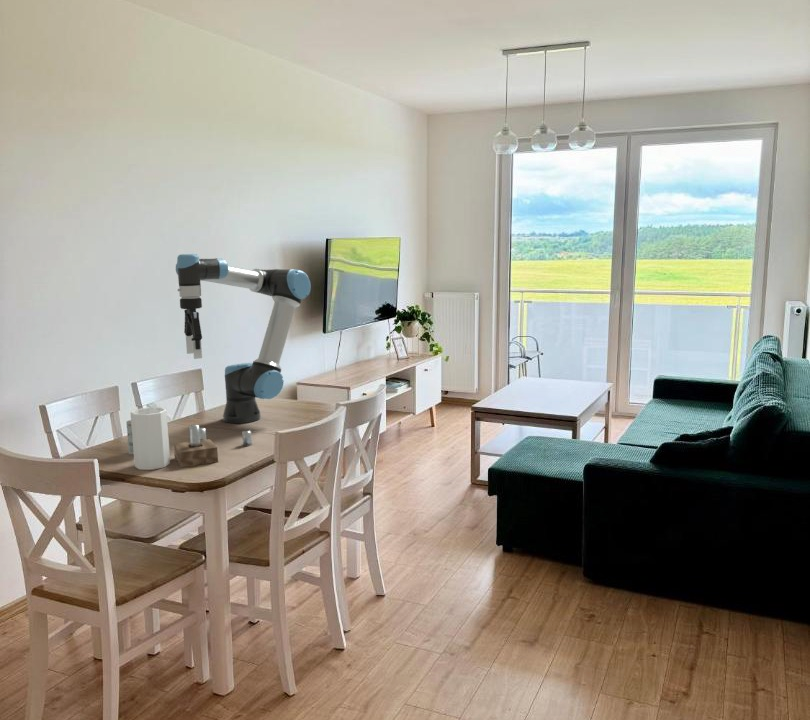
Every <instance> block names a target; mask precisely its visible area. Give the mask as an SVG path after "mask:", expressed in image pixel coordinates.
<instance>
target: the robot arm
mask: <svg viewBox="0 0 810 720" xmlns="http://www.w3.org/2000/svg"><path fill="white" fill-rule="evenodd" d="M176 261H177V262H176V264H175V272H176V275H177V278H178V281H177V282H178V288H177V292H179V297H180V299H179V307H180V309H181V310H184V335H185V343H186V344H185V345H186V354H187V355H188V354H190V355H191V354H193V359H194V360H197V359H202V358H203V353H202V351H203V350H202V339H203V336H202V327H201V321H200V313H199V311H197V309H201V308H202V307H203V303H202V301H203V300H202V297H201V296H202V286H201V281H202V282H209V283H213V284H220V285H227V286H231V287H238V288H243V289H249V290H250V292H253V293H257V294H262V295H265V296H268V297H271V298H272V300H273V302H274V303H273V307H272V310H271V313H270V316H269V320H268V323H267V327H266V331H265V334H264V338H263V340H262V344H261V348H260V351H259V354H258V357H257V358H256V359H255V360H253V362H243V363H235V364H230V365H227V366H225V369H224V381H225V397H226V398H225V401H226V403H225V406H224V410H223V413H222V421H223V422H225V423H229V424H244V423H245V424H246V423H247V424H248V423H251V422H257V421H259V420H260V419H261V411H260V409H259V408H260V407H259V406H258V403H257V401H256V398H258V399H260V400H271V399H274V398H276V397H277V396H278V395H280V394H281V392H282V389H283V387H284V379H283V378H284V376H283V374H282V373H281V372H282V367H281V365H280V362H281V360H282V355H283V351H284V348H285V344H286V340H287V338H288V335H289V331H290V328H291V324H292V320H293V317H294V314H295V311H296V308H298V307H300V306H301V303H302V301H303V300H304V299H306V298H307V297H308V296H309V295H310V293H311V290H312V289H311V287H312V286H311V280H310V279H309V278H310V277H309V276H308V274H307V273H306V272H304V271H303V270H300V269H295V268H293V269H292V268H291V269H290V268H289V269H288V268H287V269H284V268H283V269H279V268H274V269H259V268H253V269H252V270H251V269H247V268H243V267H242V268H241V267H236V266H231V265H229V264H228V262H227V261H226V260H225V259H224V258H218V257H215V258H200V256H199V254H197V253H187V254H185V253H183V254H179V255H177V260H176Z"/></svg>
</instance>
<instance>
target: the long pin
mask: <svg viewBox="0 0 810 720" xmlns="http://www.w3.org/2000/svg"><path fill="white" fill-rule="evenodd" d="M188 428H189V442H190V445H191V448H194V447H201V446H200V430H199V428H200V424H199V423H197V424H196V423H194V424H190V425H189V426H188Z"/></svg>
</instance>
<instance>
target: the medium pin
mask: <svg viewBox="0 0 810 720" xmlns="http://www.w3.org/2000/svg"><path fill="white" fill-rule="evenodd" d="M199 430H200V440H206V439H207V429H206V427H199Z"/></svg>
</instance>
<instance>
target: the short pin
mask: <svg viewBox="0 0 810 720" xmlns="http://www.w3.org/2000/svg"><path fill="white" fill-rule="evenodd" d="M241 433H242V436H241V437H242V446H243V447H250V446H252V445H253V442H252V441H253V440H252V437H253V436H252V430H250V429H247V430H242V431H241Z"/></svg>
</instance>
